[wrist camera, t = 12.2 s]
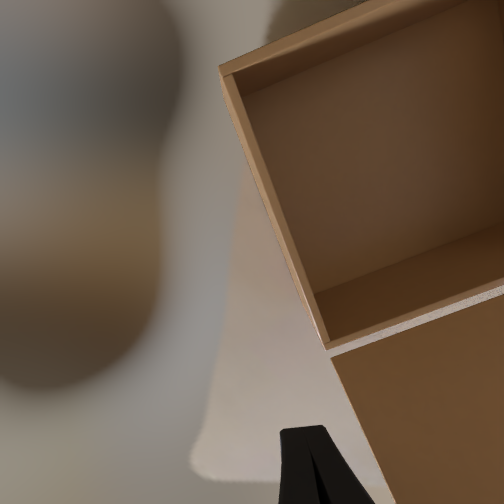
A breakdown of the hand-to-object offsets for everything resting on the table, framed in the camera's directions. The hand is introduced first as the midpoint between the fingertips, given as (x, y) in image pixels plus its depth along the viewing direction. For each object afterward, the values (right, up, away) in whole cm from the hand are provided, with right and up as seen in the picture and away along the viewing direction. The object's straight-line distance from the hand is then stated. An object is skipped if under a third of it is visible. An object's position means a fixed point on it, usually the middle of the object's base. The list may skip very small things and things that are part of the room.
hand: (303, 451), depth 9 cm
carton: (+6, +11, +8) cm, 15 cm away
